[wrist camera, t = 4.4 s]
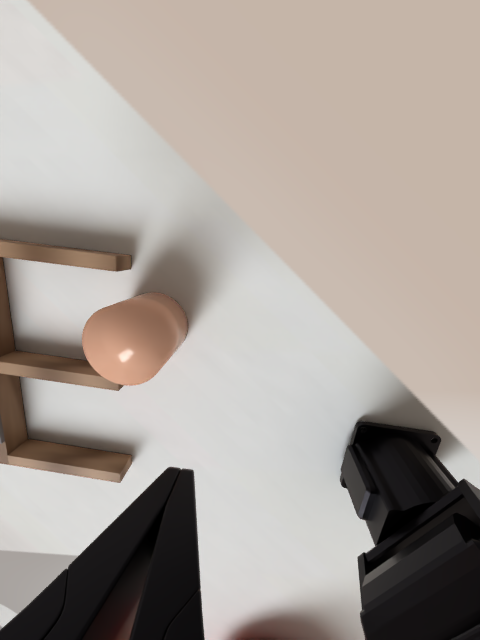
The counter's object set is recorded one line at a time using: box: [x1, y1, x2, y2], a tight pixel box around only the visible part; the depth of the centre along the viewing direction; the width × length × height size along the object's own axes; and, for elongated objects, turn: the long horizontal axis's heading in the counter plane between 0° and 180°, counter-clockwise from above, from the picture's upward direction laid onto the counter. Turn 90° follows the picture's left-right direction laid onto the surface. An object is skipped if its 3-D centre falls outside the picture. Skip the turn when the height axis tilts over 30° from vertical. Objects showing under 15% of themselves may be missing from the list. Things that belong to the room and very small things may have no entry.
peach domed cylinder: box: [82, 292, 188, 385], centre depth 17 cm, size 5×5×5 cm
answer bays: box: [0, 239, 132, 483], centre depth 20 cm, size 11×19×2 cm, turn 173°
